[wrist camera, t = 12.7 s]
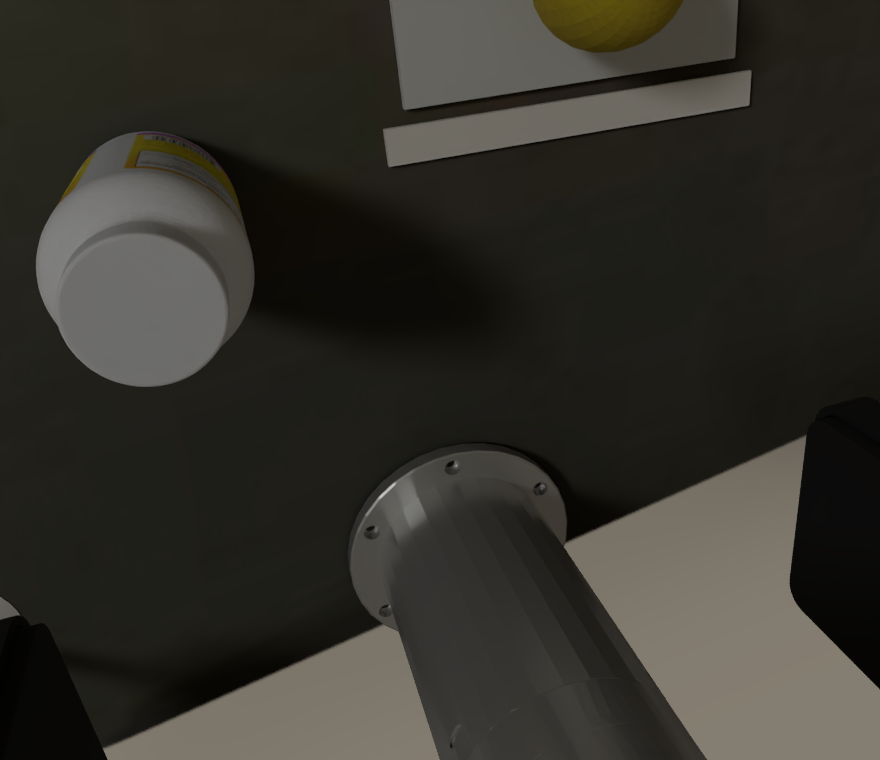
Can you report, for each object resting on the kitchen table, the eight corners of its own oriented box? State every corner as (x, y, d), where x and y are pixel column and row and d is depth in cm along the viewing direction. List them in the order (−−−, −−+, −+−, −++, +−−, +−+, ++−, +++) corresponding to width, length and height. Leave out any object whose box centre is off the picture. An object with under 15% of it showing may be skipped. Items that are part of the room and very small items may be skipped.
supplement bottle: (116, 305, 35) (80, 450, 24) (42, 158, 32) (-40, 245, 21) (262, 255, 36) (294, 372, 25) (204, 106, 33) (211, 164, 21)
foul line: (745, 104, 39) (749, 105, 39) (388, 165, 36) (389, 167, 35) (747, 70, 38) (751, 70, 38) (382, 128, 35) (384, 130, 35)
